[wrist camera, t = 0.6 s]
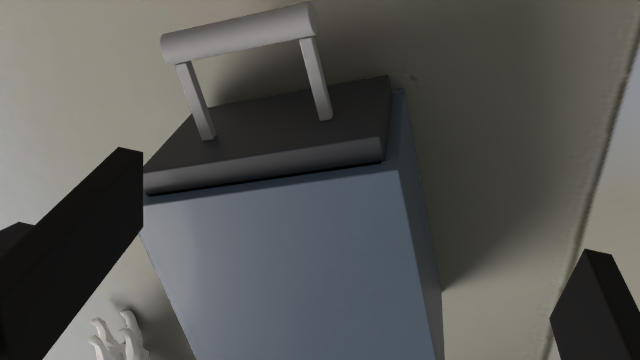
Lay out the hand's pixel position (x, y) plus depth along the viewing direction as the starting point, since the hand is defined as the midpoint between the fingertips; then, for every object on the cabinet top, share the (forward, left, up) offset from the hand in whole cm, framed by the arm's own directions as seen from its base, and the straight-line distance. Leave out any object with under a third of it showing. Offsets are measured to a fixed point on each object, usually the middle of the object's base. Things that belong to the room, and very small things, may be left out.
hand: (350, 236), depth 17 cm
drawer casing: (+10, +1, -16) cm, 19 cm away
